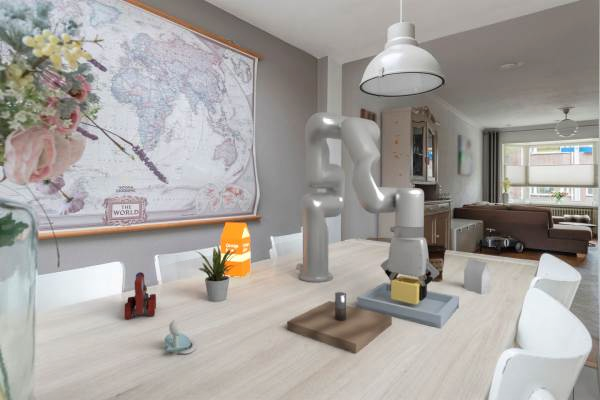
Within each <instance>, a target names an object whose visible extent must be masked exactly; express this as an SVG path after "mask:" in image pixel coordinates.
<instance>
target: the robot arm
mask: <svg viewBox="0 0 600 400" xmlns="http://www.w3.org/2000/svg"><path fill="white" fill-rule="evenodd" d="M380 136H381V128H379V126H378V124H377V122H375V121H374V120H371V119H367V118H363V117H357V116H351V117H350V116H346V115H341V114H336V113H334V112H333V113H332V112H325V111H323V112H316V113H314V114H313V115H311V116H310V118H309V119H308V120H307V123H306V125H305V130H304V137H305V138H304V139H305V145H306V146H305V147H306V157H305V183H306V186H308V187H309V188H311V189H317V190H319V189H320V190H323V189H324V190H325V192H320V191H319V192H317V191H316V192H315V191H314V192H309V193H306V194H304V195H303V196H302V197H301V199H300V201H299V202H300V203H299V209H300V213H301V214H300V215H301V221H302V224H301V225H302V263H298V262H297V264H296V266H295V270H300V272H299V273H298V279H300V280H301V281H304V282H310V283H311V282H313V283H322V282H328V281H330V280H331V281H332V279H333V274H332V273H331V272H329V228H328V224H327V222H326V220H325V219H327V218H336V217H338V216H340V215H341V214H342V213H343V211H344V207H345V200H346V197H345V196H346V173H345V171H344V169H343V167H342V166H340V165H339V164H337V163H336V164H335V163H330V155H331V152H330V148H329V144H328V143H327V141H326V139H333V140H338V141H343V144H344V146H345V148H346V151H347V152H348V154H349V156H350V159H351V161H352V163H353V165H354V166H353V170H352V176H351V177H352V188H353V192H354V194H355V195H356V198H357V200H358V202H359V204H360V205H361V207H362V208H363V210H364V211H366V212H367V213H370V214H392V213H394V226H391V227H390V229H389V230H390V233H393V235H394V236H392V237H391V240H390V245H389V250H388V258H387V259H386V260H385V261H383V262H382V263H380V267H381V269H382V270H383V271H384V273H385V275H386V276H387V278H388V280H389V281H390V282H391V281H392V280H394V279H396V278H398V277H399V276H398V275H403V276H404V275H405V276H409V277H410V276H411V277H417V279H419V281H420V283H421V285H420V286H419V300H420V301H422V300H423V299H425V297H426V296H427V291H428V284H430V283H431V282H433V281H432V280H433V279H434V278H436V277H437V276H438V275H439V271H438V270H436V269H435V268H434V267H433V266H432V265H431V264H430V263H429V257H428V248H427V243H428V242H427V239H426V238H425V237H424V235H425V234H424V228H425V227H424V226H425V225H424V224H425V223H424V222H425V221H424V220H425V219H424V218H425V192H424V190H423V189H421V188H419V187H418V188H417V187H403V188H402V187H401V188H399V187H392V186H391V187H388V186H387V187H386V186H377V184H376V182H375V180H374V177H373V175H372V172H371V171H372V170H371V167H373V166H374V165H375V164H377V162H378V161H379V160H380V158H381V153H380V151H379V149H378V147H377V145H376V143H377V142H378V141H379V139H380ZM428 271H430V272H431V275H430V276H429V277H428V278H427V277H426V275H425V274H426V273H428Z"/></svg>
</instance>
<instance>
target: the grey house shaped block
mask: <svg viewBox="0 0 600 400" xmlns="http://www.w3.org/2000/svg"><path fill="white" fill-rule="evenodd" d="M463 289H465V290H467V291H470V292H473V293H476V294H479V295H488V294H491V272H490V270H489V266H488V262H487V261H483V260H479V259H474V258H472V257H471V258H469V257H468V258H467V263H466V265H465V268H464V271H463Z"/></svg>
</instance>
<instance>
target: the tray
mask: <svg viewBox="0 0 600 400" xmlns="http://www.w3.org/2000/svg"><path fill="white" fill-rule="evenodd" d="M356 300H357V301H356V302H357V303H356V305H357V306H356V308H360V309H364V310H368V311H372V312H376V313H380V314H384V315H388V316H392V318H397V319H400V320H401V319H402V320H405V321H410V322H412V323H418V324H421V325H426V326H429V327H433V328H437V329H442V328H443V327H444V326H445V324H446V323H447V322H448V321H449V320H450V319H451V317H452V316H453V314H455V312H456V311H457V310H458V309H459V308H460V307H459V306H460V296H459V295H453V294H449V293H448V294H447V293H442V292H437V291H432V290H427V296H426V297H425V299H423V300H422V301H420V302H419V303H418V304H412V303H408V302H403V301H398V300H394V299H391V283H390V282H389V283H388V282H382V283H381V284H380V285H378V286H375V287H373V288H372V289H370V290H367V291H366V292H365V293H362V294H360V295H359V296H357V299H356Z"/></svg>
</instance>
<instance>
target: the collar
mask: <svg viewBox="0 0 600 400" xmlns="http://www.w3.org/2000/svg"><path fill="white" fill-rule="evenodd" d="M390 284H391V299H394V300H398V301H403V302H408V303H412V304H418V303H419V302H420V300H419V286H420V285H421V283H420V281H419V279H418V277H417V278H415V277H412V276H411V277H410V276H406V275H405V276H404V275H400V276H397V278H396V279H394V280H392V281H391V280H390Z"/></svg>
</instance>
